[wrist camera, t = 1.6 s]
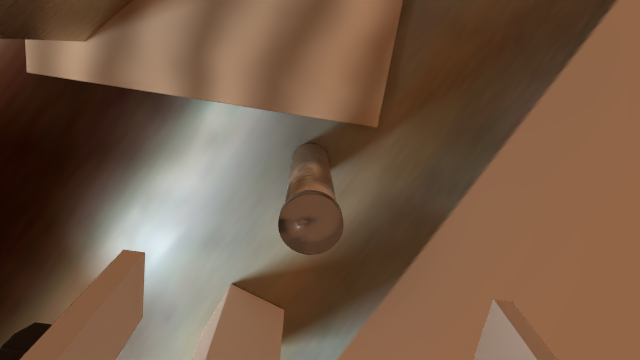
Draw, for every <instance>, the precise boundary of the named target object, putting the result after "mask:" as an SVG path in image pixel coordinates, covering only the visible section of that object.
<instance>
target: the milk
mask: <svg viewBox="0 0 640 360" xmlns="http://www.w3.org/2000/svg"><path fill="white" fill-rule="evenodd" d="M283 321H284V310H283V309H281V308H279V307H277V306H275V305H273V304H271V303H269V302H267V301H265V300H263V299H261V298H259V297H257V296H255V295H253V294H251V293H249V292H247V291H245V290H242V289H240V288H238V287H236V286H234V285H232V284H231V285H230V286H229V288H228V289H227V291H226V293H225V294H224V296H223V298H222V299H221V301H220V303H219V304H218V306H217V308H216V309H215V311H214V313H213V314H212V316H211V318H210V319H209V321H208V323H207V324H206V326H205V328H204V330H203V332H202V335H201V337H200V340H199V343H198V345H197V348H196V351H195V353H194V356H193V359H192V360H280V354H281V343H282V332H283Z"/></svg>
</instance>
